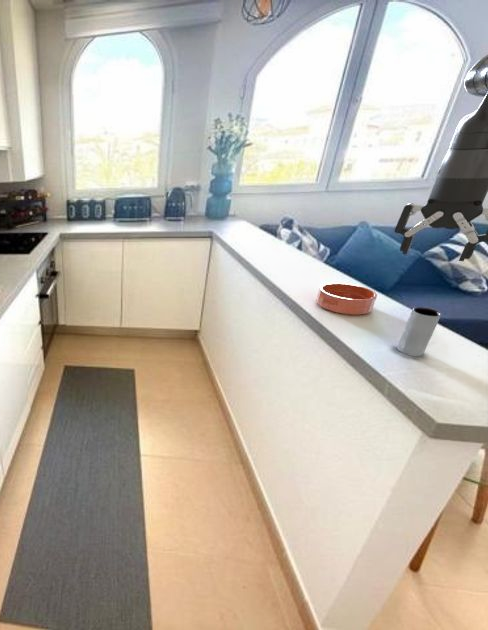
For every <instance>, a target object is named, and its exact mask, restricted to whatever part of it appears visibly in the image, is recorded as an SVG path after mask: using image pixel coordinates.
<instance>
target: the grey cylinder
mask: <svg viewBox="0 0 488 630" xmlns="http://www.w3.org/2000/svg"><path fill="white" fill-rule="evenodd" d="M411 310H412V311H411V312H410V315H409V317H408V320H407V321H406V325H405V327H404V329H403V331H402V334H401V337H400V339H399V341H398V344H397V346H396V349H397V350H398V352H400V353H402V354H405V355H408V356H413V357H421V356H423V355H424V353H425V351H426V350H427V347H428V345H429V343H430V340H431V338H432V336H433V334H434V332H435V330H436V327H437V325H438V324H439V321H440V319H441V317H442V313H441V312H440V311H439V310H435V309H433V308H429V307H422V306H421V307H419V306H417V307H413V308H412V309H411Z"/></svg>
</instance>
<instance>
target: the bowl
mask: <svg viewBox="0 0 488 630" xmlns="http://www.w3.org/2000/svg"><path fill="white" fill-rule="evenodd" d="M318 289H319V290H318V293H317V296H316V301H315V302H316V304H317V305H319V306H320V307H321V308H324V310H327V311H329V312H333V313H337V314H341V315H347V316H348V315H349V316H351V315H352V316H357V315H358V316H359V315H366V314H369V313H371V312H372V311H373V308H374V305H375V303H376V300H377V297H378V294H377V293H376V292H375V291H374V290H372V289H370V288H368V287H365V286H361V285H357V284H352V283H342V282H330V283H329V282H328V283H324V284H322V285H320V287H319V288H318Z"/></svg>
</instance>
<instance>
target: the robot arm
mask: <svg viewBox="0 0 488 630" xmlns="http://www.w3.org/2000/svg"><path fill="white" fill-rule="evenodd" d="M463 86H464V89H465V91H466V92H467V93H468V94H469V95H471V96H473V97H480V98H483V97H484V98H483V99H482V101H481V103H480V104H479V106H478V108H477V109H476V110H475V111H473V112H472V113H470V114H467V115H465V116H464V117H463V118H462V119H461V120H460V121H459V122H458V125H457V127H456V128H455V132H454V135H453V137H452V140H451V141H450V145H449V149H448V150H447V153H446V154H445V156H444V158H443V159H442V162H441V164H440V167H439V168H438V169H437V174H436V177H435V180H434V184H433V185H432V189H431V191H430V194H429V196H428V199H427V201H426V203H425V204H424V205H422V204H414V203H412V202H409V203H407V204H406V205H405V206H404V207H403V208H402V211H401V214H400V216H399V218H398V221H397V223H396V225H395V228H394V230H393V231H394V233H395V234H400V235H401V236H403V239H402V241H401V245H400V247H399V251H400V252H402V253H401V254H402V255H408V253H410V249H411V246H412V244H413V242H414V239H415V235H416V234H417V233H418V232H421V230H423V229H425V228H426V227H427V226H429V227H431V228H432V229H447V230H457V229H460V230H461V232H462V233H463V234H464V236H465V237H466V239H467V241H466V243H465V244H464V247H463V250H462V252H461V254H460V256H459V259H458V262H464V261H465V260H470V258H471V257H472V256H473V254H474V251H475V249H476V248H477V245H478V244H479V243H485V242H488V229H487V230H486V232H485V233H482V234H479V233H478V231H477V230H476V227H475V226H474V224H473V222H472V221H473V220H475V219H476V218H478V217H480V216H481V215H484V216H485V220H486V221H488V208H484V206H483V204H484V201H485V199H486V197H487V194H488V54H486V55H485V56H483V57H482V58H480V59H479V60H478V61H477V62H475V64H474V65H473V66H472V67H471V68H470V69H469V70H468V72H467V74H466V76H465V78H464V85H463ZM417 212H420V213H421V214H422V216H423V220H421V221H420V222H418V223H416V224H415V225H413V226H412V227H411V228H408V227H406V226H407V224H408V222H409V219H410V217H411V216H414V215H416V214H417Z"/></svg>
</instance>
